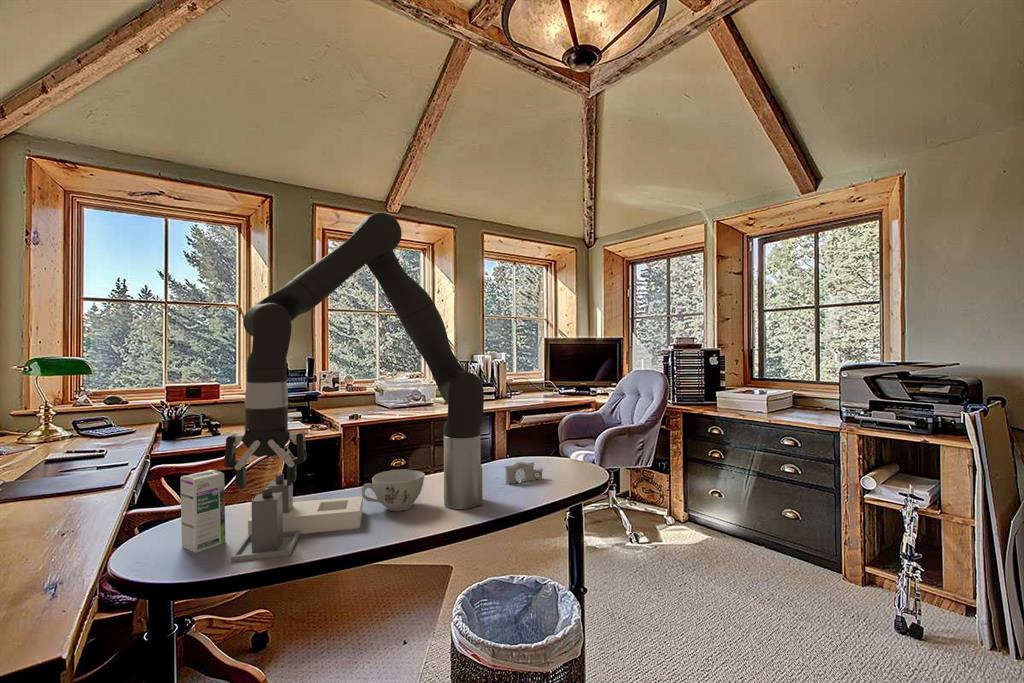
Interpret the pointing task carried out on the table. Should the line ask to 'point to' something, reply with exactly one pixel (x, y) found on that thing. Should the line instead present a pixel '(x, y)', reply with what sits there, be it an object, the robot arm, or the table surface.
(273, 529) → the plug
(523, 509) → the table surface
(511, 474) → the garden wall model
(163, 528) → the table surface
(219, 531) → the syrup box
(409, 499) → the teacup
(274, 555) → the tray
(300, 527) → the power strip
